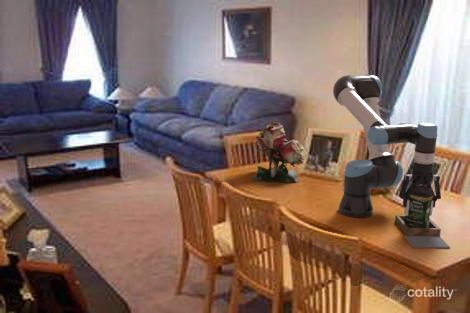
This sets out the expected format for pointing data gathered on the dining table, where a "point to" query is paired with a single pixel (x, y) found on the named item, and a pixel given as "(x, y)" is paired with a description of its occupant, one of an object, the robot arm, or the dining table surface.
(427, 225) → the coffee jar
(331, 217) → the dining table surface
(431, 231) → the holder frame
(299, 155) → the rose bouquet
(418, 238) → the slate mat
